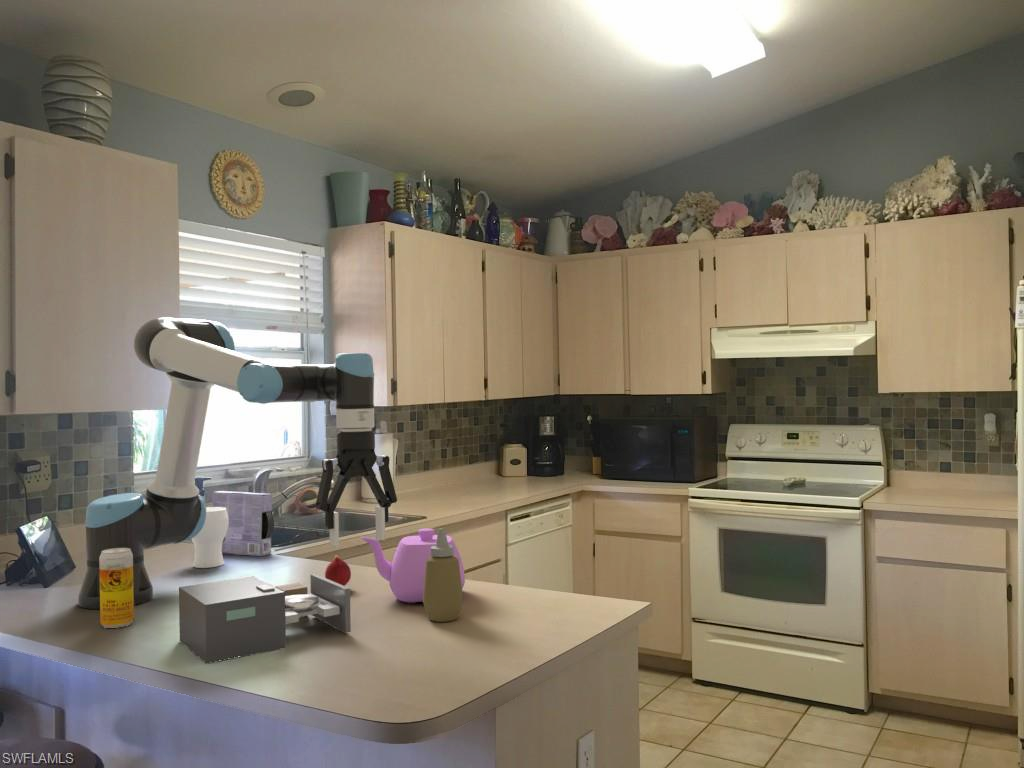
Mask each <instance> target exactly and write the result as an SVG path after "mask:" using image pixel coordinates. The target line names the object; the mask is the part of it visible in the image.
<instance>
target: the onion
mask: <svg viewBox="0 0 1024 768" xmlns="http://www.w3.org/2000/svg"><path fill="white" fill-rule="evenodd" d="M351 570H352V569H351V568H350V566H349V564H348V563H347V562H346V561H345V560H343V559H342V558H341V557H339V556H338V555H335V556H334V559H333V560H332V561H331V562H330V563H329V564H328V565H327V567H326V569H325V573H324V575H325V577H324V578H326V579H329V580H331V581H333V582H336V583H338V584H341V585H343V586H345V587H346V585H348V583H349V582H350V580H351V578H352V577H351V576H352V572H351Z"/></svg>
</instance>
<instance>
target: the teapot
mask: <svg viewBox="0 0 1024 768" xmlns="http://www.w3.org/2000/svg"><path fill="white" fill-rule="evenodd" d="M435 531H436V530H435V529H433V528H431V527H430V528H427V527H426V528H420V529H418V530H417V532H418V533H417V534H418V535H408V536H405V537H402V538H401V539H400V541H399V543H398V545H397V548H396V550H395V553H394V556H393V559H392V561H391V562H390V561H389V560H387V559H386V558H385V556H384V553H383V550H382V545H381V543H380V541H379V540H378V539H376V537H374V538H373V537H366V536H360V539H362V540H363V541H365V542H366V543H368V545H369V546H370V548H371V549H372V552H373V556H374V563H375V566H376V570H377V571H378V573H379V575H380V576H381V577H382V578H383V579H384V580H385V581H388V582H389V587H390V591H392V594H393V595H394V597H395V598H396V599H397V600H398V601H401V602H404V603H405V602H407V603H406V604H415V603H414V602H417V603H420V602H422V603H423V592H424V580H425V568H426V560H427V559H428V558H430V557H432V556H431V553H430V548H431V547H432V546H436V541H437V535H438V534H435ZM446 537H447V541H448V545H451V546H453V547H454V555H452V556H455V557H456V558H457V559H458V560H459V568H460V576H461V585H462V589H463V588H464V585H465V583H466V582H465V581H466V576H465V568H464V564H463V560H462V557H461V555H460V552H459V550H458V547H457V545H456V542H455V541H454V539H453V538H452V536H450V535H447V534H446Z"/></svg>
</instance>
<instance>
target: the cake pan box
mask: <svg viewBox="0 0 1024 768" xmlns="http://www.w3.org/2000/svg"><path fill="white" fill-rule="evenodd" d="M212 507H225V508H226V510H227V514H228V521H229V525H228V529H227V533H226V535H225V537H224V539H223V542H222V550H221V551H222V554H229V555H239V556H253V557H264V556H268V555H271V554H272V535H273V532H274V530H275V519H274V514H273V511H272V510H273V494H272V493H263V492H262V493H261V492H260V493H259V492H250V491H249V492H247V491H230V490H229V491H228V490H218V491H217V490H216V491H213V492H212Z"/></svg>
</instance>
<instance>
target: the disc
mask: <svg viewBox="0 0 1024 768" xmlns="http://www.w3.org/2000/svg"><path fill="white" fill-rule="evenodd" d="M318 606H319V597H318V596H315V595H291V596H285V612H287V611H294V612H296V613H303V612H308V611H312V610H315V609H317V608H318Z"/></svg>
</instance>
